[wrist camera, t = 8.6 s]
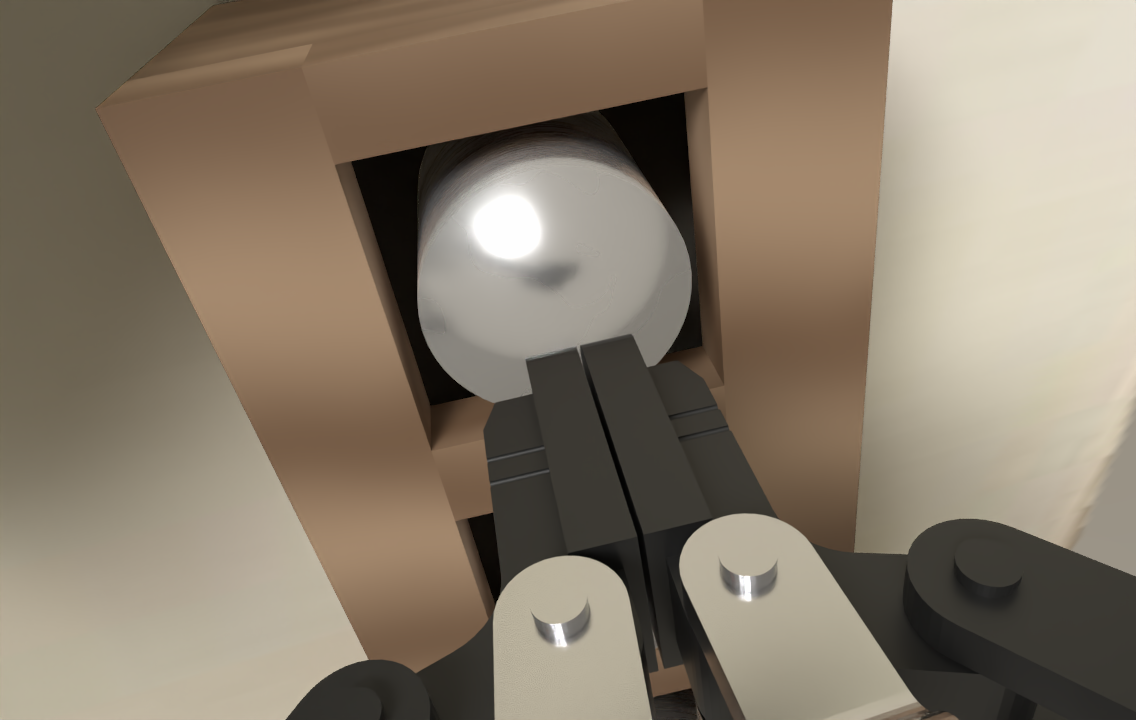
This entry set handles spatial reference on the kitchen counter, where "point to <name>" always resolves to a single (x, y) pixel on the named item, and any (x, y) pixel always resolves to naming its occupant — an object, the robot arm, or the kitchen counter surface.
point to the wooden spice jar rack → (477, 106)
